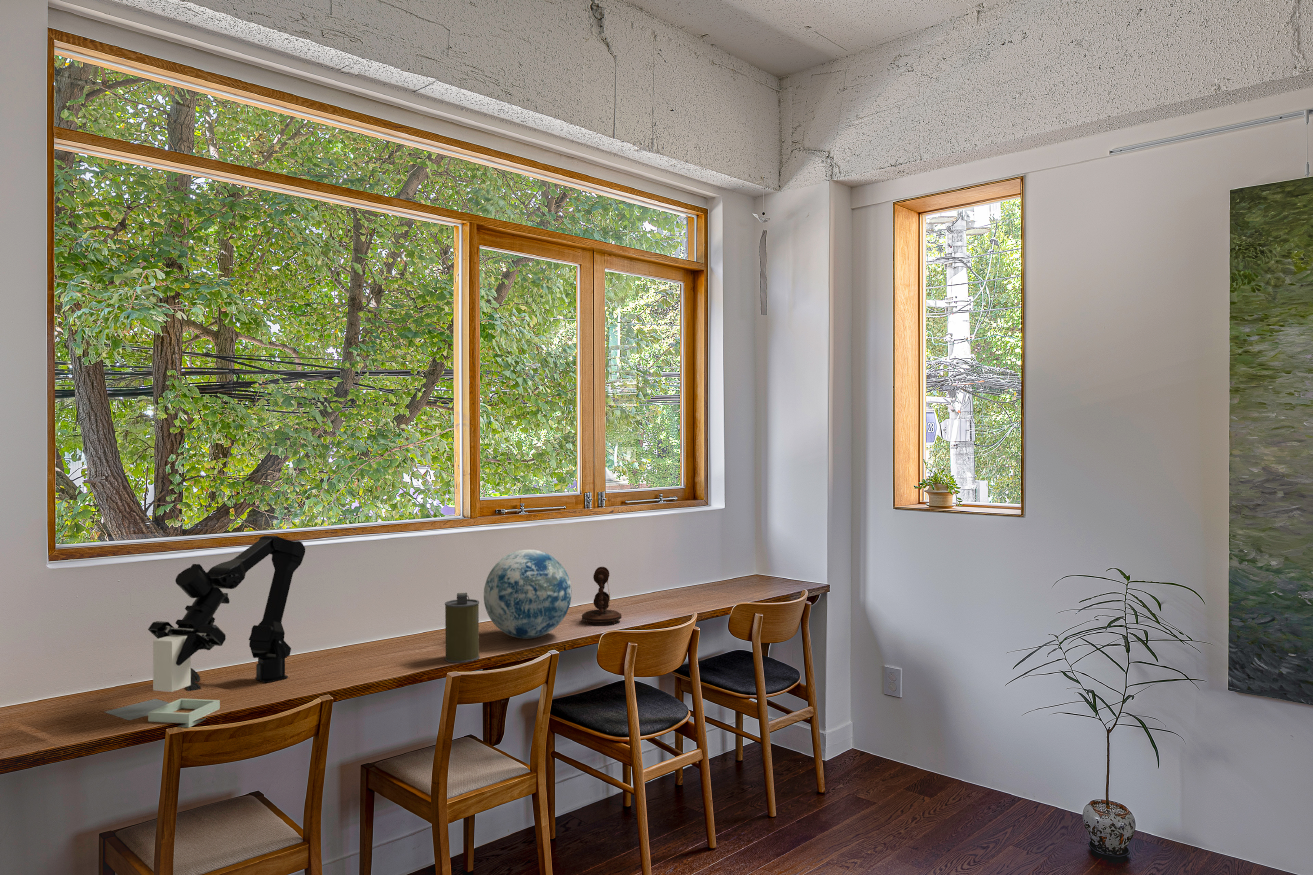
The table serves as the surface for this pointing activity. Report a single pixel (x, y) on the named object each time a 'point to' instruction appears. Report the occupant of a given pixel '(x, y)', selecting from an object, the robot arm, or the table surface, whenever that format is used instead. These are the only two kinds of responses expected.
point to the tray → (170, 716)
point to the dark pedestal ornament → (601, 601)
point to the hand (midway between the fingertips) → (167, 663)
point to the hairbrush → (193, 678)
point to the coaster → (137, 709)
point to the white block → (170, 664)
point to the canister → (462, 629)
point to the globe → (527, 594)
